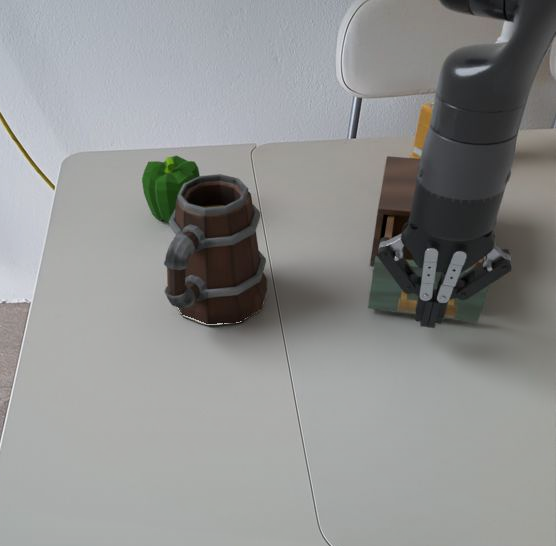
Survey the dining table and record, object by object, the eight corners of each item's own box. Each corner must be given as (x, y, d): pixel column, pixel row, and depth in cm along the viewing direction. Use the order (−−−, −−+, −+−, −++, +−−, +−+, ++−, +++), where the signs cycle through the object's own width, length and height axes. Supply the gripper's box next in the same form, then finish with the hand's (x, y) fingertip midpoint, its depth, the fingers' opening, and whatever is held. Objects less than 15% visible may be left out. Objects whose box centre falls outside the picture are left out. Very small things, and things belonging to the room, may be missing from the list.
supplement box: (423, 174, 101) (436, 111, 94) (408, 165, 103) (419, 103, 96) (440, 168, 102) (453, 105, 95) (424, 159, 104) (436, 98, 97)
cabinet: (479, 278, 81) (497, 219, 75) (369, 265, 85) (377, 208, 79) (477, 220, 91) (493, 163, 85) (378, 210, 94) (386, 155, 88)
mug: (203, 259, 88) (195, 157, 77) (283, 285, 83) (286, 179, 72) (135, 327, 78) (116, 221, 68) (220, 361, 73) (214, 252, 63)
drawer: (478, 349, 71) (493, 301, 66) (363, 333, 74) (370, 286, 69) (476, 259, 83) (489, 213, 78) (377, 248, 86) (383, 203, 81)
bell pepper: (153, 200, 100) (145, 138, 93) (205, 201, 98) (201, 139, 91) (140, 230, 94) (131, 167, 87) (196, 232, 92) (191, 168, 86)
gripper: (539, 160, 58) (491, 308, 70) (388, 150, 61) (367, 293, 73) (547, 204, 53) (494, 355, 65) (382, 189, 56) (360, 336, 68)
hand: (427, 322), depth 69 cm, fingers closed
